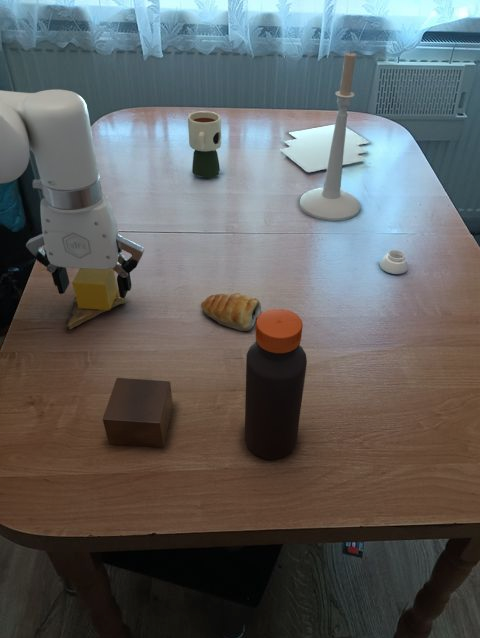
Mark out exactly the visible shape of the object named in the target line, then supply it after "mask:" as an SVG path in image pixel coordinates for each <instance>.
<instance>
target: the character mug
mask: <svg viewBox="0 0 480 638" xmlns="http://www.w3.org/2000/svg"><path fill="white" fill-rule="evenodd" d="M187 129H188V144H189V145H188V146H189V147H190V148H191V149H192V150H194V151H193V156H192V169H191V173H192V174H193V176H194V175H195V176H197V177H201V178H205V179H206V178H207V179H212V178H216V177H217V176H219V175H220V172H221V168H220V162H219V154H218V151H217V150H218V149H220V148H221V146H222V117H221V115H220V114H218V113H216V112H214V111H209V110H200V111H193V112H191V113H189V114H188V115H187Z"/></svg>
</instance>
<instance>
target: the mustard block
mask: <svg viewBox="0 0 480 638" xmlns="http://www.w3.org/2000/svg"><path fill="white" fill-rule="evenodd" d="M71 283H72V288H73V291H74V295H75V297H76V300H77V304H78V308H83V309H98V310H107V311H110V310H112V308H111V306H112V304H113V302H114V299H115V297H116V294H117V292H118V290H119V289H118V284H117V278H116V274H115V271H114V270H113V269H110V270H95V269H80V268H78V271H77V273H76V275H75V276H74V279H73V280H72V282H71Z"/></svg>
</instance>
